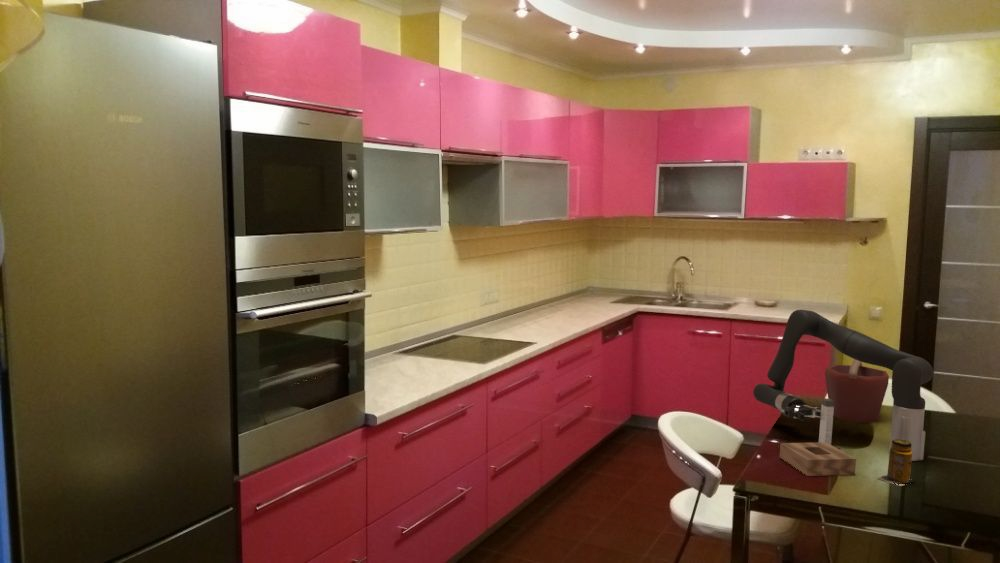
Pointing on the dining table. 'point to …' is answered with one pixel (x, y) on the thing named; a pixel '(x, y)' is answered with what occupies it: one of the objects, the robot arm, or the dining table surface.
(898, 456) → the condiment
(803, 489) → the dining table surface
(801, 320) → the robot arm
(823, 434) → the metal bar
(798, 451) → the tongs holder
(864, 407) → the bucket
